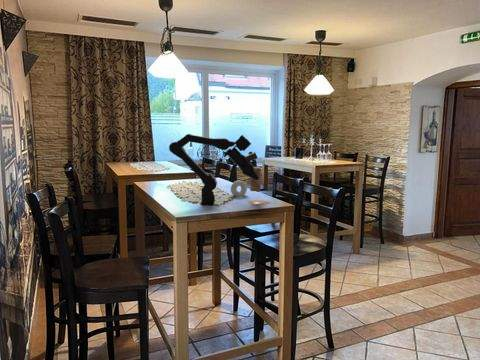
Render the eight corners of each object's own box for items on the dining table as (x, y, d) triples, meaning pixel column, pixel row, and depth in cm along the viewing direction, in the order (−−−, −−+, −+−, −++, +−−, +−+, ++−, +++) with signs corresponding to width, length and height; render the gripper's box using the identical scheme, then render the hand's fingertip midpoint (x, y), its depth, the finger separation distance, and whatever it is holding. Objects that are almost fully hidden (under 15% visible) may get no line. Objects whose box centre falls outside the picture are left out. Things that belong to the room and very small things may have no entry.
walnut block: (250, 191, 200) (251, 168, 198) (250, 189, 205) (250, 167, 203) (260, 191, 200) (260, 168, 198) (259, 189, 205) (260, 167, 203)
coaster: (248, 206, 197) (248, 204, 197) (246, 201, 209) (246, 200, 209) (271, 206, 198) (271, 204, 198) (268, 201, 210) (268, 200, 210)
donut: (245, 196, 225) (245, 179, 224) (247, 197, 222) (248, 180, 221) (229, 197, 221) (229, 180, 220) (232, 198, 218) (232, 181, 217)
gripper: (249, 147, 190) (271, 170, 192) (247, 145, 208) (267, 166, 210) (233, 163, 191) (254, 185, 193) (233, 159, 209) (252, 180, 211)
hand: (258, 178), depth 202 cm, fingers closed on walnut block, 5 cm apart
